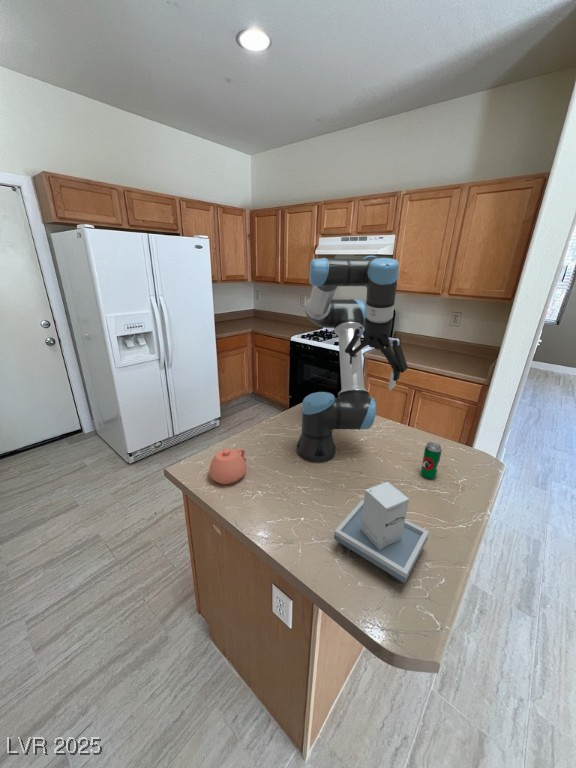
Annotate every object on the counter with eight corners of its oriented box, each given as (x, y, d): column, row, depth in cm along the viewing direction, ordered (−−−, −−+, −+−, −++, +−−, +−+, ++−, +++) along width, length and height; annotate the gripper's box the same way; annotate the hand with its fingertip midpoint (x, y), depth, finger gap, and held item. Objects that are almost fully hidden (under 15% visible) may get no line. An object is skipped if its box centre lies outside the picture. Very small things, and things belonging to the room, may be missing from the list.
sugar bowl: (202, 476, 106) (200, 450, 102) (235, 459, 115) (234, 435, 112) (224, 493, 98) (222, 466, 94) (257, 473, 108) (256, 448, 104)
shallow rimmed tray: (333, 548, 79) (334, 530, 77) (361, 514, 90) (362, 498, 88) (403, 592, 68) (406, 574, 66) (425, 548, 79) (428, 531, 77)
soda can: (437, 481, 104) (444, 450, 100) (421, 479, 105) (427, 448, 101) (434, 472, 109) (440, 442, 105) (418, 470, 110) (424, 440, 106)
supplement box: (379, 551, 73) (385, 508, 68) (359, 529, 79) (363, 488, 75) (402, 540, 76) (410, 498, 72) (381, 519, 82) (387, 480, 78)
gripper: (334, 312, 93) (333, 372, 105) (415, 334, 78) (403, 400, 90) (349, 304, 97) (346, 362, 109) (428, 323, 82) (415, 388, 94)
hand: (372, 380), depth 99 cm, fingers open, 13 cm apart
